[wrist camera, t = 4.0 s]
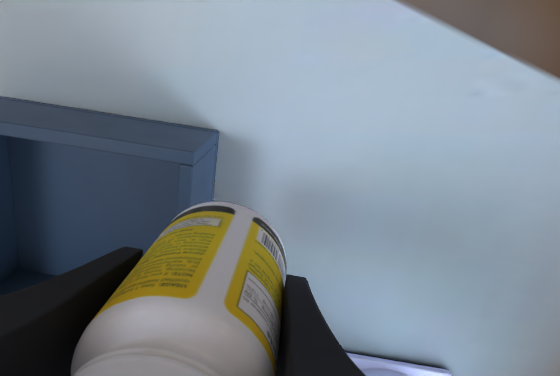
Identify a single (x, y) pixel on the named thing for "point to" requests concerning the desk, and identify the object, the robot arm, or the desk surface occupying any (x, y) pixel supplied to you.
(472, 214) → the desk surface
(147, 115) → the desk surface
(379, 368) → the robot arm
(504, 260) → the desk surface
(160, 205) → the desk bin
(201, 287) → the supplement bottle
